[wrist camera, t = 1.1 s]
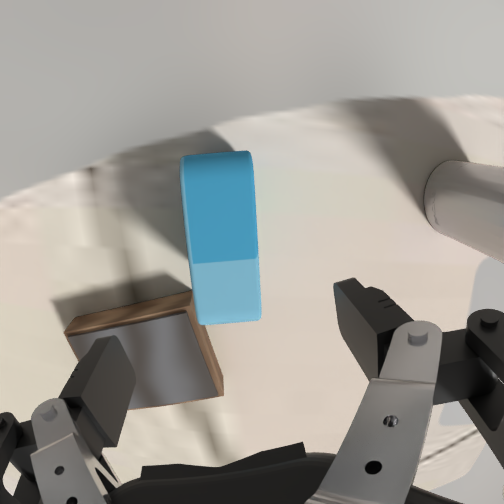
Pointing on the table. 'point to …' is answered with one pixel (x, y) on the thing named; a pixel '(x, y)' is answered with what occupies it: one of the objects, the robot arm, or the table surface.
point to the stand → (157, 349)
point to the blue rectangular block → (221, 236)
